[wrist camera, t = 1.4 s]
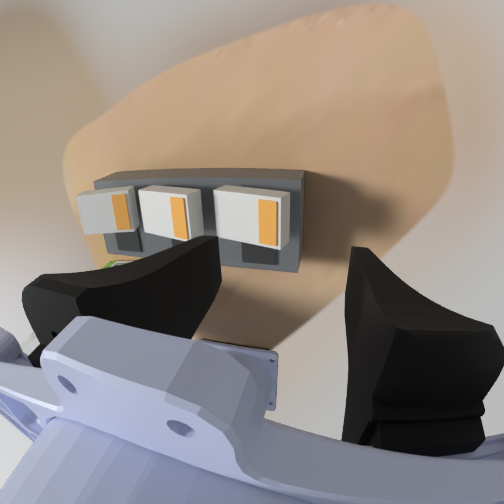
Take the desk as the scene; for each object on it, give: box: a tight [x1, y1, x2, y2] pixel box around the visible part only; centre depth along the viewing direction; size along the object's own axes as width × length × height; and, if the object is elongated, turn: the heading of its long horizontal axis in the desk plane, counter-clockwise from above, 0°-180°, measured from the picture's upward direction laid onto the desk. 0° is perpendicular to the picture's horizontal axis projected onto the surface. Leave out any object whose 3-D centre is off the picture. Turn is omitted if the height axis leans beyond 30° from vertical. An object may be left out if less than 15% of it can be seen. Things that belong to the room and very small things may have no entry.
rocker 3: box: [213, 185, 290, 250], centre depth 17 cm, size 3×4×1 cm
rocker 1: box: [76, 186, 140, 235], centre depth 19 cm, size 3×4×1 cm
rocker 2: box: [138, 185, 204, 241], centre depth 18 cm, size 3×4×1 cm
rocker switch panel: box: [94, 168, 305, 273], centre depth 21 cm, size 6×15×4 cm, turn 91°
